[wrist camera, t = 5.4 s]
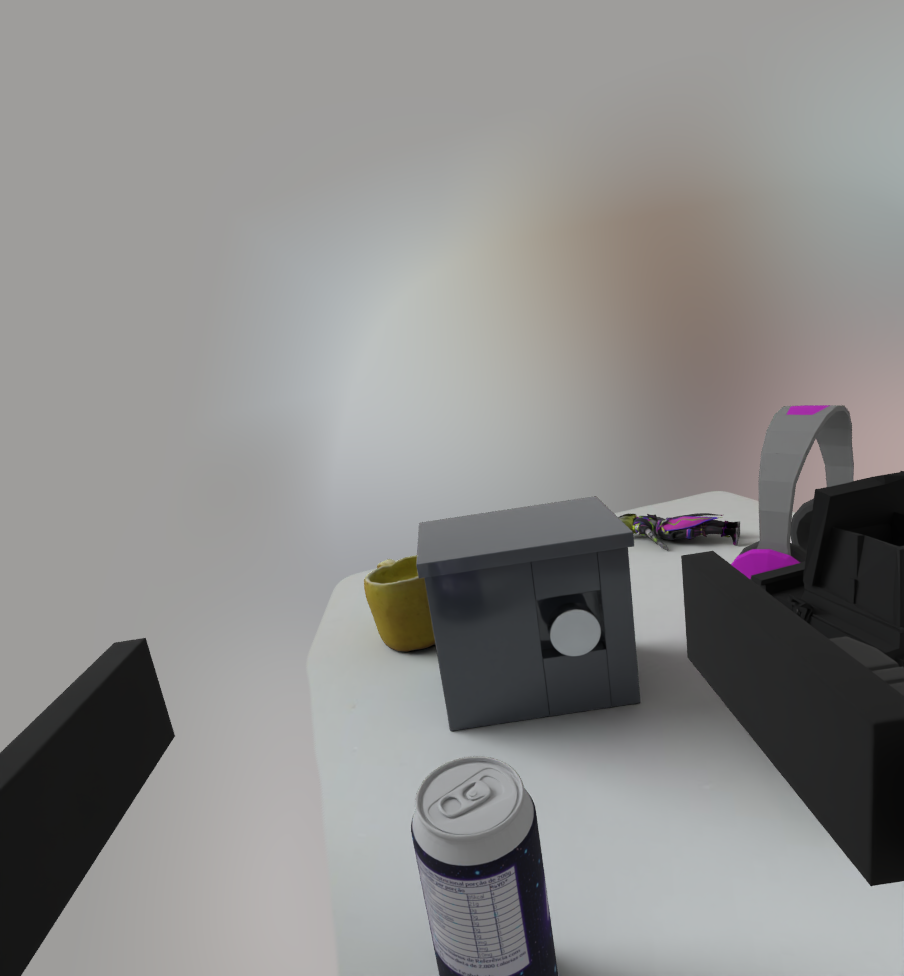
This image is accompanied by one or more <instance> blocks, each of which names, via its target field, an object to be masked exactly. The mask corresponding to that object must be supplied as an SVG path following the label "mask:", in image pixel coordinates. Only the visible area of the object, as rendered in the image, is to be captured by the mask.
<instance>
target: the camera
mask: <svg viewBox="0 0 904 976" xmlns="http://www.w3.org/2000/svg"><path fill="white" fill-rule="evenodd" d="M750 580H752V581H753V582H754V583H756V584H757V585H758V586H760V587H761V588H762V589H764V590H765V591H766V592H768V593H769V594H770V595H772V596H773V597H774V598H776V599H777V600H778V601H779V602H781V603H782V604H783V605H785V606H786V607H787V608H789V609H790V610H791V611H793V612H794V613H795V614H797V615H798V616H799V617H801V618H802V619H803V620H805V621H806V622H807V623H808V624H810V625H811V626H812V627H814V628H815V629H816V630H818V631H819V632H820V633H822V634H823V635H824V636H826V637H827V638H828V639H832V638H839V637H845V636H847V637H850V638H852V639H855V640H857V641H860V642H862V643H865V644H867V645H870V646H873V647H875V648H877V649H878V650H880V651H881V652H883V653H884V654H886V655H887V656H888V657H890V658H891V659H893V660H894V661H896V662H897V663H898V665H899V667H902V666H903V667H904V471H901V472H899V473H894V474H887V475H881V476H875V477H870V478H866V479H862V480H857V481H853V482H849V483H844V484H840V485H835V486H831V487H826V488H821V489H816V490H815V496H814V502H813V510H812V517H811V524H810V532H809V539H808V547H807V554H806V561H805V562H801V563H798V564H794V565H790V566H786V567H782V568H778V569H774V570H770V571H766V572H763V573H759V574H755V575H751V579H750Z"/></svg>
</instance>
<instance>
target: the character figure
mask: <svg viewBox="0 0 904 976" xmlns="http://www.w3.org/2000/svg"><path fill="white" fill-rule="evenodd" d="M635 515H636V514H625V515H623V516H620V517H618V518H619V519H620V520H621V521H622V522H623V523H624V524H625V525H626V526H627V527H628V528H629V529H630V530H631V531H632V532H633V534H634V533H635V534H636V533H638V532H639V534H638V535H640V534H641V535H642V536H647V535H648V536H649V537H650V538H651V539H652V540H653V541H654V542H655V543H656V544H658V545H659V546H660V547H661V548H663V549H665V550H669V549H668V548H667V547H665V546H666V545H664V544H663V543H662V542H660V541H659V539H658V538H657V537H656V536H660V537H661V538H662V539H668V540H674V539H675V538H687V539H692V538H694V537H696V536H700V535H703V536H705V537H707V536H706V535H708V534H721V537H723V536H725V537H732V539H733V544H734V545H737V544H738V537H739V535H740V522H728V521H725V522H722V521H718V520H713V519H717V517H695V516H703V515H716V514H708V513H701V514H691V515H683V516H677V517H673V518H666V519H663V518H660V517H656V515H649V514H647V515H648V516H639V517H637V516H635ZM720 516H722V515H720ZM720 518H723V517H720ZM728 535H730V536H728Z"/></svg>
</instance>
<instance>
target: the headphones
mask: <svg viewBox="0 0 904 976" xmlns="http://www.w3.org/2000/svg"><path fill="white" fill-rule="evenodd" d="M815 439H817V442H818V444H819V447H820V450H821V453H822V456H823V460H824V463H825V470H826V481H827V487H831V486H835V485H840V484H844V483H849V482H853V474H854V473H853V472H854V462H853V451H852V423H851V419H850V413H849V411H848V410H847V409H846V407H845V406H830V405H828V406H827V405H825V406H824V405H823V406H784V407H782V409H780V410H779V411H778V412H777V413H776V414H775V415H774V417H773V419H772V421H771V423H770V425H769V427H768V429H767V432H766V436H765V440H764V444H763V448H762V452H761V462H760V471H759V528H760V541H759V542H756V543H754V544H752V545H750V546H748V547H746V548H744V549H743V551H742V552H741V553H740V554H739V555H738V556H737V558H736V559H735V560H734V561H733V563H732V564H731V565H732V566H733V567H735V568H736V569H737V570H739V571H740V572H741V573H743V574H744V575H745V576H747V577H748V578H749V579H751V575H755V574H759V573H763V572H766V571H770V570H774V569H778V568H782V567H786V566H790V565H794V564H798V563H801V562H805V561H806V554H807V547H808V539H809V532H810V524H811V517H812V510H813V502H814V499H812V500H810V501H808V502H806V503H804V504H803V505H802V506H801V507H800V508H799V510H798V511H797V512H796V513H795V514H794V515H793V518H792V509H793V502H794V495H795V487H796V483H797V480H798V477H799V475H800V472H801V470H802V467H803V465H804V462H805V460H806V457H807V455H808V453H809V451H810V449H811V447H812V445H813V443H814V441H815ZM791 520H792V522H791ZM790 535H791V540H792V543H790Z"/></svg>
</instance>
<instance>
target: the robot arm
mask: <svg viewBox="0 0 904 976" xmlns="http://www.w3.org/2000/svg"><path fill="white" fill-rule="evenodd" d="M681 557H682V573H683V589H684V605H685V621H686V637H687V653H688V658H689V660H690V661H691V662H692V663H693V665H694V666H695V667H696V668H697V670H698V671H699V672H700V673H701V675H702V676H703V677H704V678H705V680H706V681H707V682H708V683H709V685H710V686H711V687H712V688H713V690H714V691H715V692H716V693H717V695H718V696H719V697H720V698H721V700H722V701H723V702H724V703H725V705H726V706H727V707H728V708H729V710H730V711H731V712H732V713H733V715H734V716H735V717H736V718H737V720H738V721H739V722H740V723H741V725H742V726H743V727H744V728H745V730H746V731H747V732H748V733H749V735H750V736H751V737H752V738H753V740H754V741H755V742H756V743H757V745H758V746H759V747H760V748H761V749H762V751H763V752H764V753H765V754H766V756H767V757H768V758H769V759H770V761H771V762H772V763H773V764H774V766H775V767H776V768H777V769H778V771H779V772H780V773H781V774H782V776H783V777H784V778H785V779H786V781H787V782H788V783H789V784H790V786H791V787H792V788H793V789H794V791H795V792H796V793H797V794H798V796H799V797H800V798H801V799H802V801H803V802H804V803H805V804H806V806H807V807H808V808H809V809H810V811H811V812H812V813H813V814H814V816H815V817H816V818H817V819H818V821H819V822H820V823H821V824H822V826H823V827H824V828H825V829H826V831H827V832H828V833H829V834H830V836H831V837H832V838H833V839H834V841H835V842H836V843H837V844H838V846H839V847H840V848H841V849H842V851H843V852H844V853H845V854H846V856H847V857H848V858H849V859H850V861H851V862H852V863H853V864H854V866H855V867H856V868H857V869H858V871H859V872H860V873H861V874H862V875H863V877H864V878H865V879H866V880H867V882H868V883H869V884H870V885H871V886H874V885H880V884H887V883H894V882H900V881H904V667H903V666H902V667H899V665H898V663H897V662H896V661H894V660H893V659H891V658H890V657H888V656H887V655H886V654H884V653H883V652H881V651H880V650H878V649H877V648H875V647H873V646H870V645H867V644H865V643H862V642H860V641H857V640H855V639H852V638H850V637H847V636H845V637H839V638H832V639H828V638H827V637H826V636H824V635H823V634H822V633H820V632H819V631H818V630H816V629H815V628H814V627H812V626H811V625H810V624H808V623H807V622H806V621H805V620H803V619H802V618H801V617H799V616H798V615H797V614H795V613H794V612H793V611H791V610H790V609H789V608H787V607H786V606H785V605H783V604H782V603H781V602H779V601H778V600H777V599H776V598H774V597H773V596H772V595H770V594H769V593H768V592H766V591H765V590H764V589H762V588H761V587H760V586H758V585H757V584H756V583H754V582H753V581H752V580H750V579H749V578H748V577H747V576H745V575H744V574H743V573H741V572H740V571H739V570H737V569H736V568H735V567H733V566H732V565H731V564H729V563H728V562H727V561H725V560H724V559H723V558H721V557H720V556H719V555H718V554H716V553H715V552H714V551H709V552H702V553H696V554H689V555H683V556H681ZM174 737H175V735H174V732H173V728H172V725H171V722H170V718H169V715H168V711H167V708H166V705H165V701H164V698H163V695H162V691H161V688H160V685H159V681H158V678H157V675H156V672H155V668H154V665H153V661H152V658H151V655H150V651H149V648H148V645H147V641H146V638H143V639H136V640H129V641H123V642H116V643H114V644H113V645H112V646H111V647H110V648H109V649H108V650H107V651H106V652H104V653H103V654H102V655H101V656H100V657H99V658H98V659H97V660H96V661H95V662H94V663H93V664H92V665H91V666H90V667H89V668H88V669H87V670H86V671H85V672H84V673H83V674H82V675H81V676H79V677H78V678H77V679H76V680H75V682H73V683H72V684H71V685H70V686H69V687H68V688H67V689H66V690H65V691H64V692H63V693H62V694H61V695H60V696H59V697H58V698H57V699H56V700H55V701H54V702H53V703H52V704H51V705H49V706H48V707H47V708H46V710H44V711H43V712H42V713H41V714H40V715H39V716H38V717H37V718H36V719H35V720H34V721H33V722H32V723H31V724H30V725H29V726H28V727H27V728H26V729H25V730H24V731H23V732H22V733H20V734H19V735H18V737H16V738H15V739H14V740H13V741H12V742H11V743H10V744H9V745H8V746H7V747H6V748H5V749H4V750H3V751H2V752H1V753H0V976H21V975H22V973H23V972H24V970H25V969H26V967H27V965H28V964H29V962H30V961H31V959H32V958H33V956H34V955H35V953H36V951H37V950H38V948H39V947H40V945H41V944H42V942H43V940H44V939H45V937H46V936H47V934H48V933H49V931H50V929H51V928H52V926H53V925H54V923H55V922H56V920H57V919H58V917H59V916H60V914H61V912H62V911H63V909H64V908H65V906H66V905H67V903H68V902H69V900H70V898H71V897H72V895H73V894H74V892H75V891H76V889H77V888H78V886H79V884H80V883H81V881H82V880H83V878H84V877H85V875H86V874H87V872H88V870H89V869H90V867H91V866H92V864H93V863H94V861H95V860H96V858H97V856H98V855H99V853H100V852H101V850H102V849H103V847H104V845H105V844H106V842H107V841H108V839H109V838H110V836H111V835H112V833H113V832H114V830H115V828H116V827H117V825H118V824H119V822H120V821H121V819H122V817H123V816H124V814H125V813H126V811H127V810H128V808H129V807H130V805H131V804H132V802H133V800H134V799H135V797H136V795H137V794H138V793H139V791H140V789H141V788H142V786H143V785H144V783H145V782H146V780H147V779H148V777H149V775H150V774H151V772H152V771H153V769H154V768H155V766H156V765H157V763H158V761H159V760H160V758H161V757H162V755H163V754H164V752H165V751H166V749H167V747H168V746H169V744H170V743H171V741H172V740H173V738H174Z"/></svg>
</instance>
